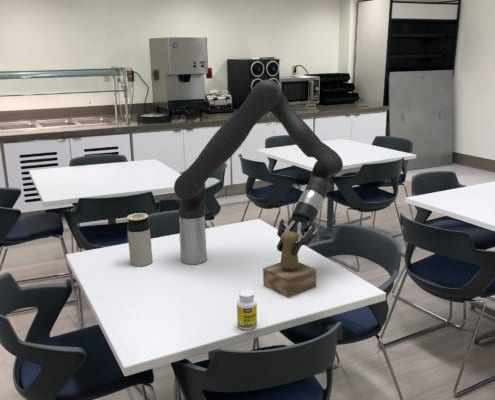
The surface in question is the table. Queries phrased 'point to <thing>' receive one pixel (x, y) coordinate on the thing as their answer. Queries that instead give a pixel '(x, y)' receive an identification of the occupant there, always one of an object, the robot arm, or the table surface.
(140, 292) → the table surface
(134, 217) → the travel mug
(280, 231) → the robot arm
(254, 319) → the supplement bottle
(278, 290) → the walnut riser
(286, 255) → the cork
